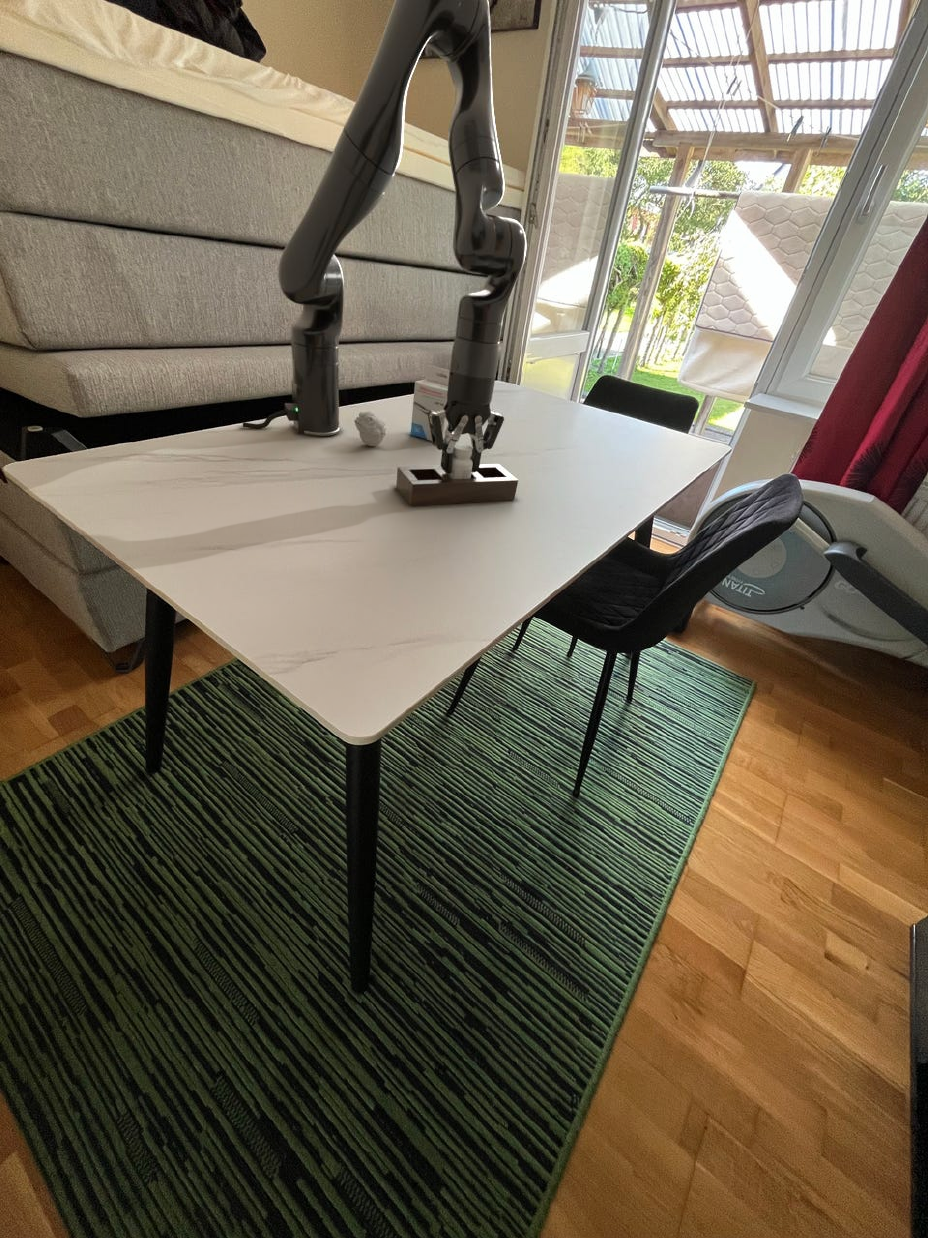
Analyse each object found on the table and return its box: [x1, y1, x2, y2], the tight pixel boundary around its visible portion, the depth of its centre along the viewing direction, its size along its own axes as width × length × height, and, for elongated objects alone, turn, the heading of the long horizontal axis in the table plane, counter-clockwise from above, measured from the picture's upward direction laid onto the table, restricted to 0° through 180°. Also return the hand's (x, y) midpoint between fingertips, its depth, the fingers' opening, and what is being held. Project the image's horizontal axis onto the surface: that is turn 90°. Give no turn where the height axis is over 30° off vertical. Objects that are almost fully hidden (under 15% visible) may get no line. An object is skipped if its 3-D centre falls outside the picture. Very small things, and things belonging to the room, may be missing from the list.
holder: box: [395, 463, 519, 507], centre depth 95 cm, size 8×21×4 cm, turn 114°
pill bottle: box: [447, 443, 473, 479], centre depth 93 cm, size 4×4×8 cm
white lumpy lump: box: [353, 411, 387, 447], centre depth 109 cm, size 6×7×7 cm
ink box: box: [410, 364, 450, 442], centre depth 116 cm, size 9×5×15 cm, turn 65°
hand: (459, 470), depth 94 cm, fingers closed on pill bottle, 4 cm apart
